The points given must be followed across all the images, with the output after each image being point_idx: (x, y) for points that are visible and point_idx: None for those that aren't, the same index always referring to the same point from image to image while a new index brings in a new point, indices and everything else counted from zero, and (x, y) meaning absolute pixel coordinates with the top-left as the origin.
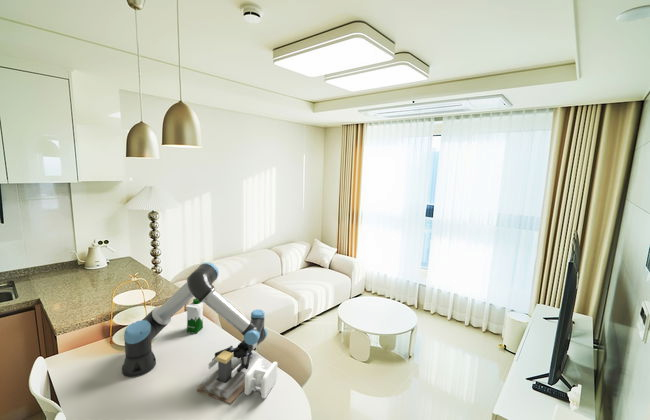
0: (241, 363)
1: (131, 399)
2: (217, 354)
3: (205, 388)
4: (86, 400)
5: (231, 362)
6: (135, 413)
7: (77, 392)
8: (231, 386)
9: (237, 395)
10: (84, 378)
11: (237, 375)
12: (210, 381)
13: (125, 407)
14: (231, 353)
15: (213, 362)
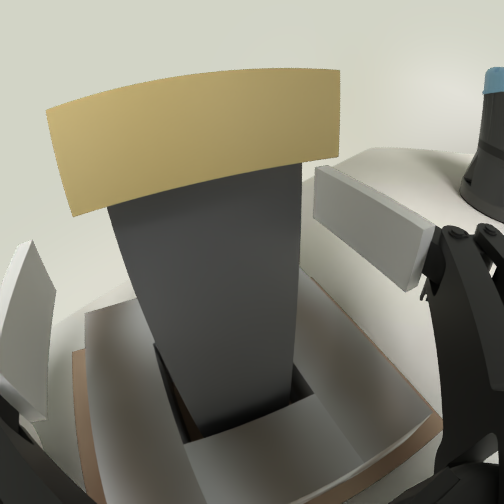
0: (53, 470)
1: (373, 179)
2: (467, 233)
3: None
4: (400, 155)
5: (136, 295)
6: (313, 178)
7: (427, 155)
8: (89, 353)
9: (75, 406)
10: (463, 163)
11: (148, 467)
12: None
13: (348, 173)
14: (94, 95)
15: (347, 203)
